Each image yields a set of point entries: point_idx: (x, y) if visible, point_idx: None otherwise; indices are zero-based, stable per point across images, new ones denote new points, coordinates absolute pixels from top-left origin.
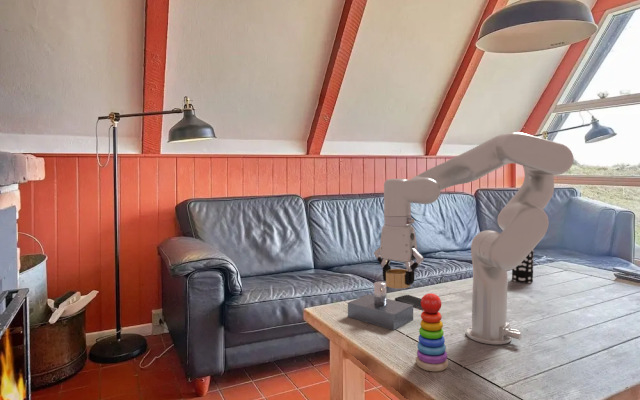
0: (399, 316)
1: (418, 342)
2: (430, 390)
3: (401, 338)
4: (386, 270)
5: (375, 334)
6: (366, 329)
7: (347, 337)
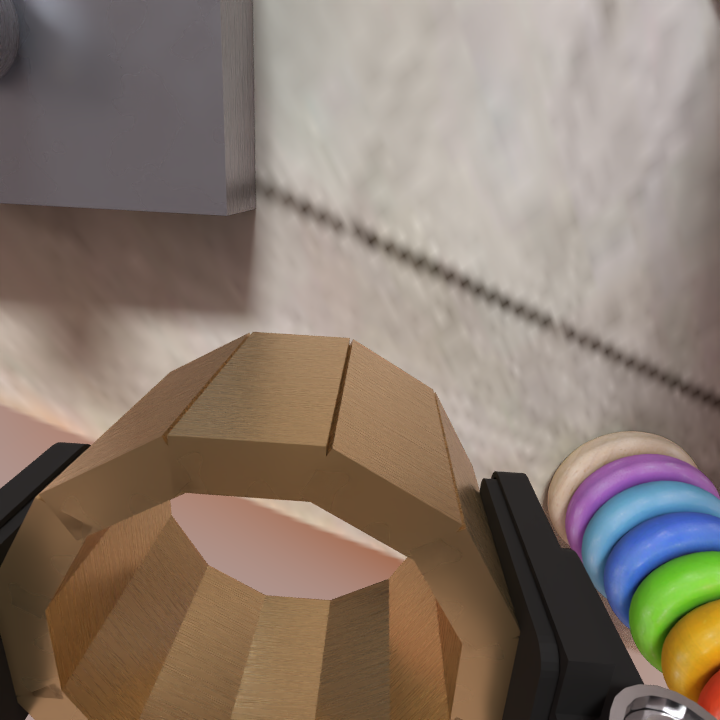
0: (234, 124)
1: (596, 577)
2: None
3: (359, 296)
4: (14, 693)
5: (210, 335)
6: (123, 302)
7: None
